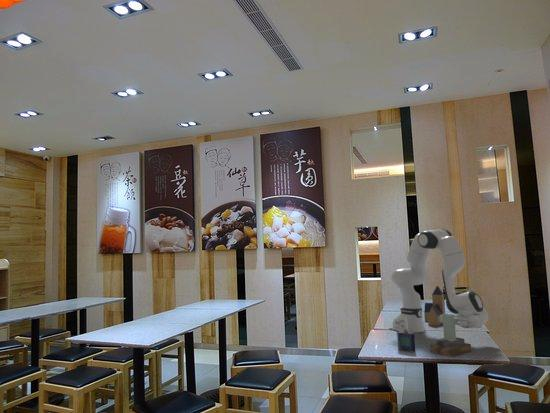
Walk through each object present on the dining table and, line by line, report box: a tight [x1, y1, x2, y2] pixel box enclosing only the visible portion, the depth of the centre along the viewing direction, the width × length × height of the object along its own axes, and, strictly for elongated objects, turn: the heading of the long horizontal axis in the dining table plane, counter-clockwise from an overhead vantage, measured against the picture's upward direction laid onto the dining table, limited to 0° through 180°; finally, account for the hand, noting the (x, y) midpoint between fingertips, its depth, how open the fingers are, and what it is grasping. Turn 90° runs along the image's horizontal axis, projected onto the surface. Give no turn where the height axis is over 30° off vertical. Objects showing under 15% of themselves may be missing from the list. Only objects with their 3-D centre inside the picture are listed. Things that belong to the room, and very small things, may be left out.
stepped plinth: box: [430, 336, 472, 358], centre depth 205 cm, size 12×16×6 cm
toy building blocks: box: [423, 285, 446, 327], centre depth 281 cm, size 12×19×25 cm, turn 143°
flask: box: [396, 329, 416, 353], centre depth 211 cm, size 9×3×11 cm, turn 48°
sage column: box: [442, 313, 457, 340], centre depth 206 cm, size 4×4×12 cm
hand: (450, 322), depth 207 cm, fingers open, 8 cm apart
